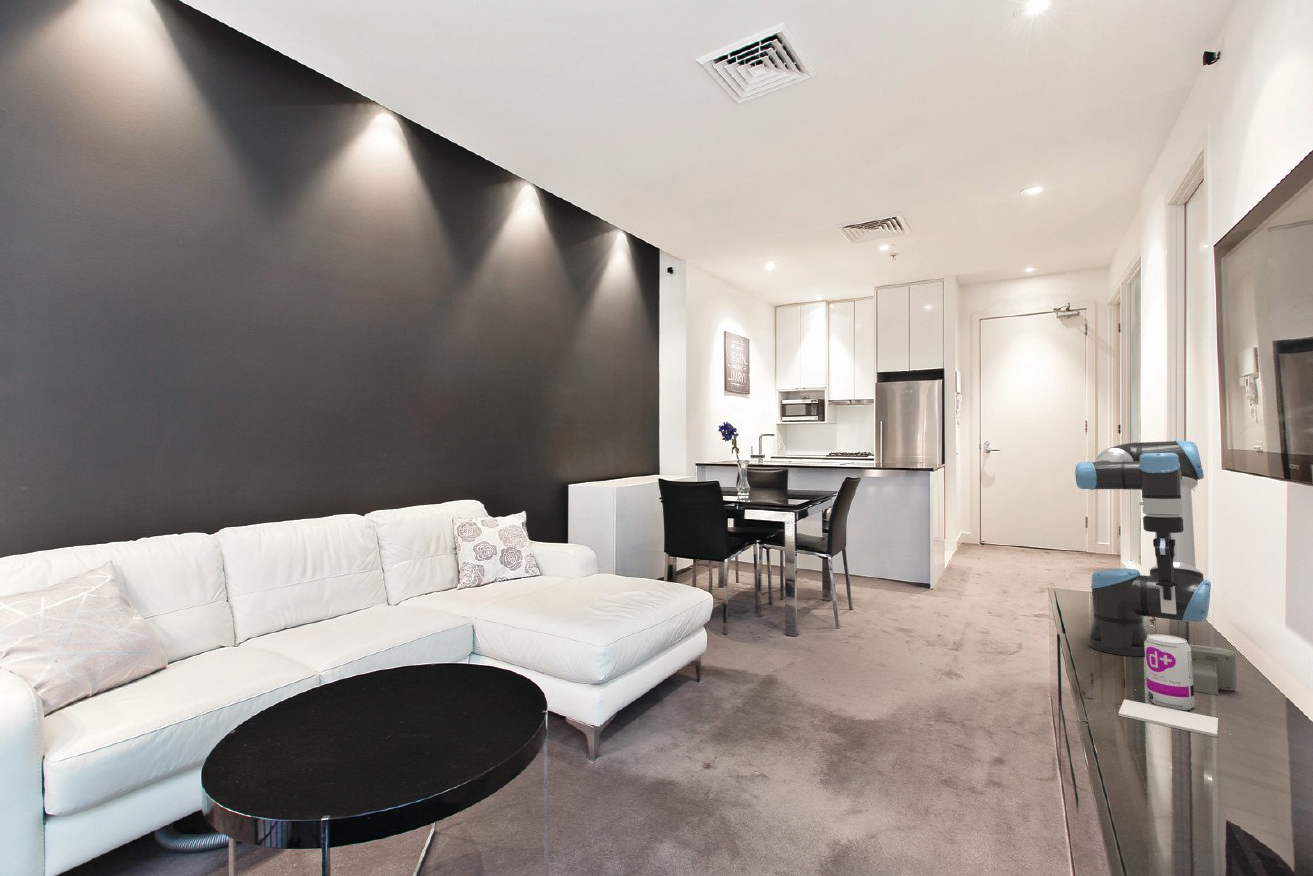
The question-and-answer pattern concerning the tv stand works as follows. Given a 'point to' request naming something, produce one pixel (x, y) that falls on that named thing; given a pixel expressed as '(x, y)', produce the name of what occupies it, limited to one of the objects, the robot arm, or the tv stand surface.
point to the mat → (1169, 717)
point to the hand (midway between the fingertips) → (1168, 612)
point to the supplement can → (1169, 671)
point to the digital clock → (1213, 669)
